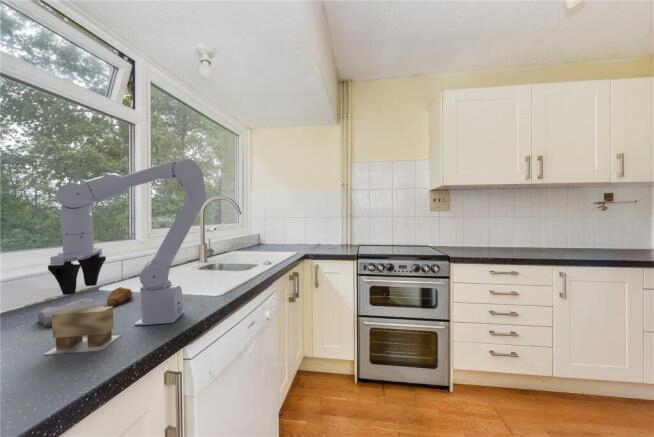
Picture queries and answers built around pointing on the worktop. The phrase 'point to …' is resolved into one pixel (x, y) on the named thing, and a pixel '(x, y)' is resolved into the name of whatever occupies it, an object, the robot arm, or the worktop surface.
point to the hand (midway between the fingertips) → (80, 289)
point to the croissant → (119, 296)
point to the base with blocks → (83, 343)
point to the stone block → (46, 313)
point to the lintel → (82, 322)
